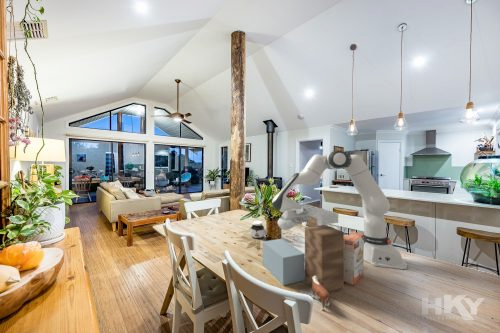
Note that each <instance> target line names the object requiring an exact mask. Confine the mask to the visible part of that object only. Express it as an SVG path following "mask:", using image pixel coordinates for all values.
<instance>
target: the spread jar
mask: <svg viewBox="0 0 500 333" xmlns="http://www.w3.org/2000/svg"><path fill="white" fill-rule="evenodd" d="M266 229H267V228H266V227H265V226H264V225H263V222H262V221H260V220H255V221H253V222H252V226H251V227H250V235H251V237H252V238H253V239H254V240H261V239H263V238H264V237H267V236H266Z"/></svg>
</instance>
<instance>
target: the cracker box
mask: <svg viewBox="0 0 500 333" xmlns="http://www.w3.org/2000/svg"><path fill="white" fill-rule="evenodd" d="M364 261H365V260H364V234H363V233H360V232H355V231H353V232H351V233H349V234H348V235H347V236H345V237H344V276H343V283H346V284H349V285H352V286H355V285H356V284H357V282H359V280H360V279H361V278H362V277H363V275H364V265H365V264H364Z"/></svg>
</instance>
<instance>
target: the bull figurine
mask: <svg viewBox="0 0 500 333" xmlns="http://www.w3.org/2000/svg"><path fill="white" fill-rule="evenodd" d="M310 279H313V281H312V287H311V289H312V296H311V298H312V299H315V296H316V297H318V299H319V300H321V303H322V307H321V309H320V310H321V311H325V307H329V306H330V303H331V302H330V298H331V293H328V292H327V290H326V289H325V288H324V287H323V286H322V285H321V284H320V283H319V282H318V280H319V281H320V280H321V279H318V278H317V276H313V277H310Z"/></svg>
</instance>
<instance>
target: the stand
mask: <svg viewBox="0 0 500 333" xmlns="http://www.w3.org/2000/svg"><path fill="white" fill-rule="evenodd" d="M344 234H345V232H344V231H343V230H340V229H337V228H335V227H333V226H329V225H328V224H326V225H320V224H318V225H314V226H307V227H304V254H305V280H304V282H305V283H306V284H307V285H309V287H311V288H312V281H313V279H310V277H313V276H317V278H318V279H321V280H320V281H319V280H318V282H319V283H320V284H321V285H322V286H323V287H324V288H325V289H326V290H327V292H328V293H329V294H332V293H335V292H339V291H342V290H344V282H343V276H344V238H345V237H344Z"/></svg>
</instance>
